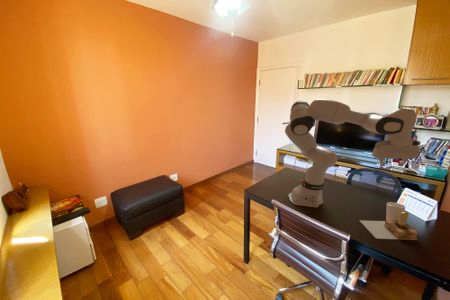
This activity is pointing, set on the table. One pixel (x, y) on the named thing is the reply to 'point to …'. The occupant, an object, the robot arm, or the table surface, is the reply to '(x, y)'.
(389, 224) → the square wooden tray
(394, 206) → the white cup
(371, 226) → the mat
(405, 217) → the wooden peg
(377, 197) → the table surface
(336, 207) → the table surface
